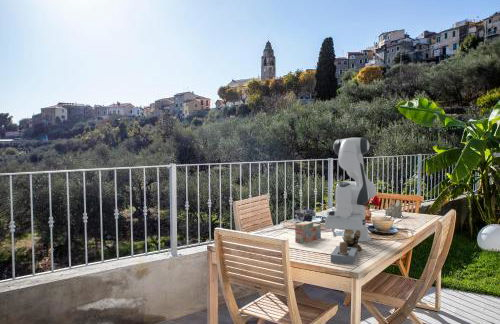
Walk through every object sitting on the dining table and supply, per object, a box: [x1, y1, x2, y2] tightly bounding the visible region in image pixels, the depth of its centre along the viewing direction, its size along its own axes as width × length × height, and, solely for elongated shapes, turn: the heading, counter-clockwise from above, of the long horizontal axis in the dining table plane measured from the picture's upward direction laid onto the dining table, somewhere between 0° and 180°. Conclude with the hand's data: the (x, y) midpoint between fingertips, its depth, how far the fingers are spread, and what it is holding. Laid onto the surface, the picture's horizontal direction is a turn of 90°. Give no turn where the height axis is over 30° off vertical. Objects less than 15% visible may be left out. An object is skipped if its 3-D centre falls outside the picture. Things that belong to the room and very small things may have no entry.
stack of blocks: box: [294, 220, 322, 244], centre depth 266 cm, size 21×6×12 cm, turn 138°
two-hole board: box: [330, 245, 359, 265], centre depth 223 cm, size 20×12×4 cm, turn 158°
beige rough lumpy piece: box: [342, 229, 363, 253], centre depth 241 cm, size 18×12×17 cm, turn 146°
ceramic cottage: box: [384, 200, 403, 217], centre depth 350 cm, size 16×16×15 cm
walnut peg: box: [339, 241, 347, 255], centre depth 218 cm, size 4×4×10 cm
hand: (343, 237), depth 218 cm, fingers open, 8 cm apart
